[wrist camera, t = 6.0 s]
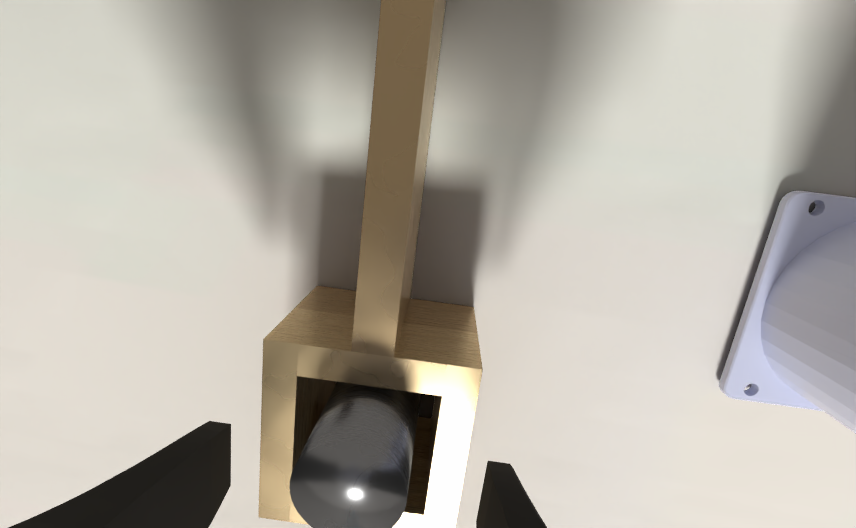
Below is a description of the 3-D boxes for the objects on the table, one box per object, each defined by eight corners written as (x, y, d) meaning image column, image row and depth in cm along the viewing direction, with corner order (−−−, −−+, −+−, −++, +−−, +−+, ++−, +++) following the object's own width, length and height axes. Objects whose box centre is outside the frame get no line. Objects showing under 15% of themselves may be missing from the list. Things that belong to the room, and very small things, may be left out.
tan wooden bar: (524, -10, 14) (563, -94, 9) (421, 631, 21) (412, 773, 16) (336, -32, 14) (275, -128, 9) (297, 612, 21) (252, 748, 16)
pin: (422, 397, 18) (404, 546, 11) (351, 391, 18) (290, 534, 11) (426, 330, 17) (409, 447, 10) (352, 324, 17) (287, 436, 10)
